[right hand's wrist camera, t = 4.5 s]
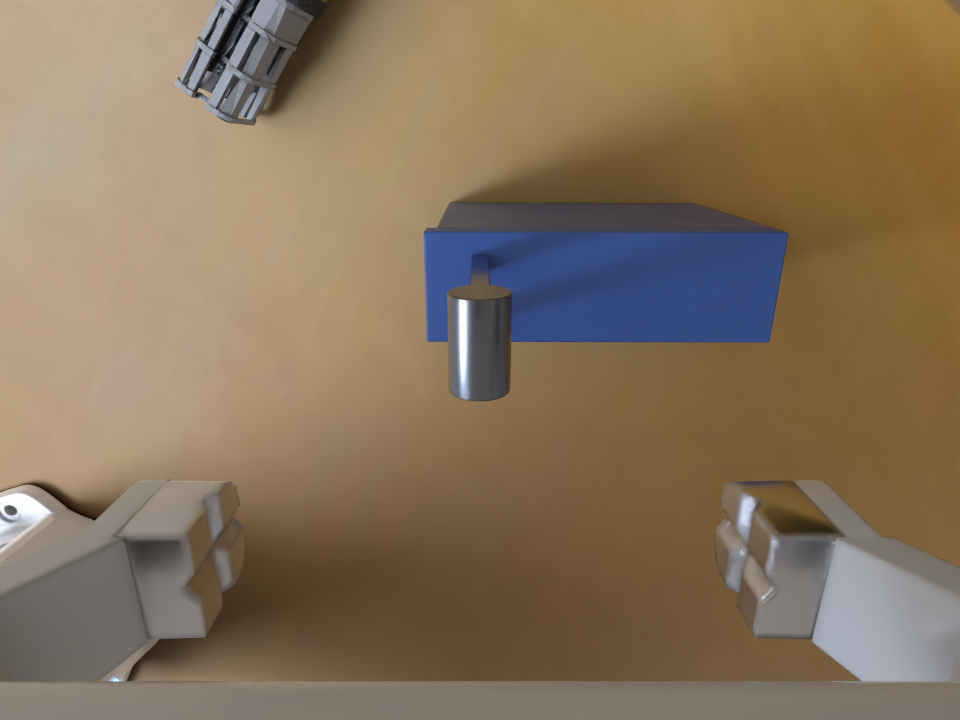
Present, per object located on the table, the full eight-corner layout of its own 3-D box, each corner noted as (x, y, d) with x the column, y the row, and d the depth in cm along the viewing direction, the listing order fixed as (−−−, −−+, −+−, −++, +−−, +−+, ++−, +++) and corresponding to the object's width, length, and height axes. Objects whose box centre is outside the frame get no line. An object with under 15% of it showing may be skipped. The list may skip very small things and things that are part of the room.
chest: (450, 281, 37) (438, 333, 27) (449, 202, 36) (436, 227, 26) (683, 281, 37) (757, 334, 27) (693, 203, 36) (775, 228, 26)
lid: (428, 334, 27) (404, 424, 19) (425, 227, 26) (398, 272, 17) (758, 334, 27) (886, 425, 19) (776, 228, 26) (925, 274, 17)
